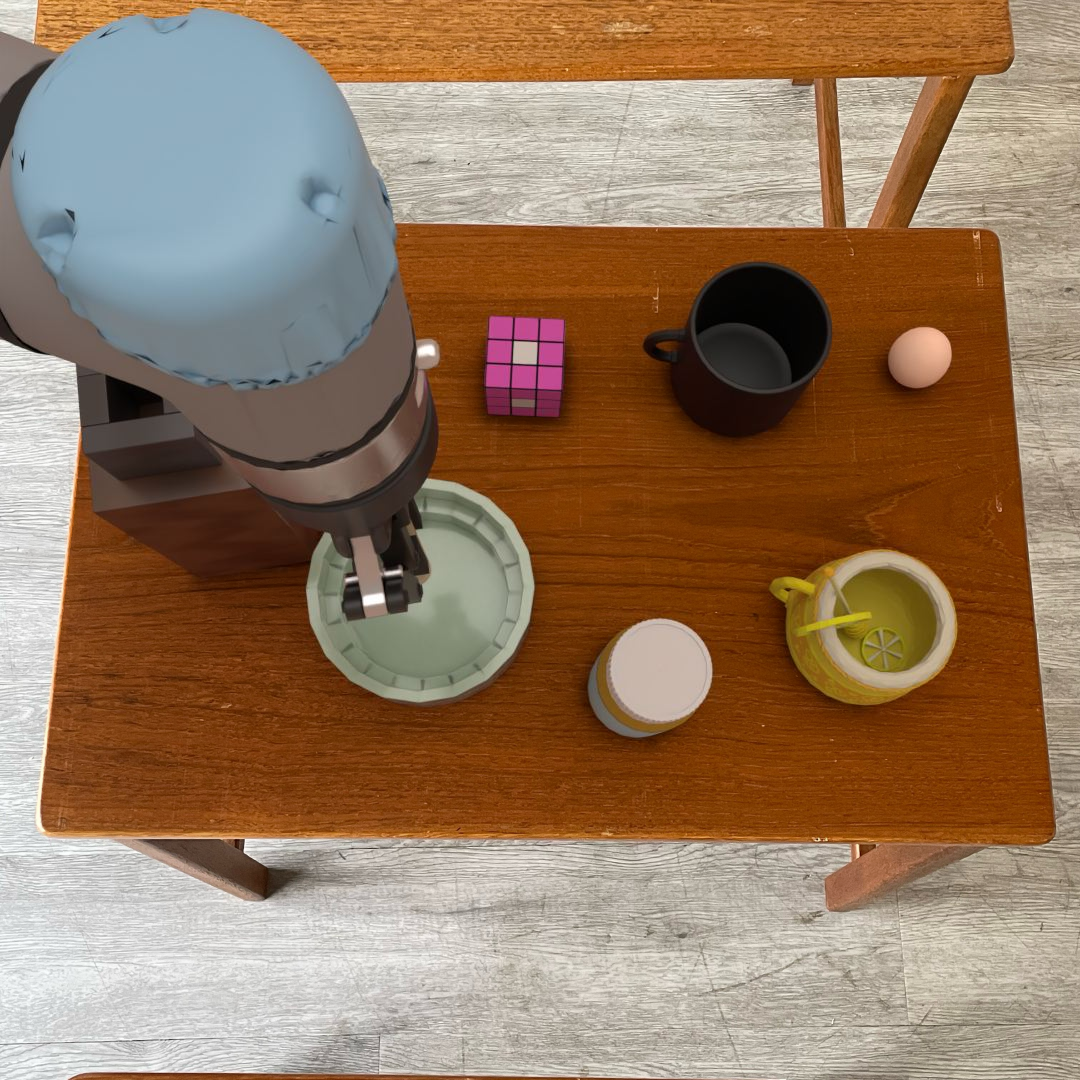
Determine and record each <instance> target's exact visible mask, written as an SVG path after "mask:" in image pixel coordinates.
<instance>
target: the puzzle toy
mask: <svg viewBox="0 0 1080 1080" xmlns="http://www.w3.org/2000/svg"><path fill="white" fill-rule="evenodd" d="M486 331H487V332H486V349H485V366H484V367H485V369H484V386H483V388H484V399H485V409H486V414H487V415H503V416H505V415H506V416H511V415H512V416H525V417H535V416H536V417H546V418H560V416H561V410H562V402H563V401H562V399H563V391H564V370H565V369H564V367H565V366H564V365H565V343H566V340H565V339H566V320H565V318H554V317H553V318H550V317H540V318H539V317H532V316H531V317H526V316H508V315H507V316H506V315H505V316H504V315H488V317H487V330H486Z"/></svg>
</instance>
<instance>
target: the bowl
mask: <svg viewBox="0 0 1080 1080" xmlns="http://www.w3.org/2000/svg"><path fill="white" fill-rule="evenodd" d="M414 500H415V502H416V505H417V507H418V510H419V512H420V515H421V519H422V525H423V529H418V530H416V532H417V535H418V537H419V539H420V541H421V544H422V546H423V548H424V550H425V553H426V555H427V557H428V559H429V562H430V564H431V568H432V571H431V575H430V577H429V579H428V580H427V581H426V582H425V583H423V584H421V585H422V587H423V595H422V596H423V598H422V602H420V603H414V604H408V612H403V613H397V614H391V615H390V614H389V615H385V616H379V617H373V618H366V619H361V620H355V621H349V622H348V621H347V618H346V615H345V613H343V611H342V606H341V602H342V601H343V592H344V589H345V585H344V579H343V575H344V574H345V573H351V572H353V568H352V559H348V558H345V557H343V556H341V555H340V554H339V553H338V552H337V551H336V549H335V547H334V544H333V541H332V538H331V535H330V533H326V532H323V534H322V535H321V538H320V540H318V545H317V547H316V548H315V550H314V552H313V555H312V559H311V561H310V565H309V569H308V575H307V580H306V584H305V594H306V603H307V610H308V619H309V624H310V627H311V629H312V631H313V633H314V635H315V638H316V639H317V642H318V644H319V645H320V648H321V649H322V652H323V654H324V656H325V657H326V659H328V660H329V661H330V662H331V663H332V664H333V665H334V666H335V667H336V668H337V669H338V670H339V671H340V672H341V673H342V675H344V676H345V678H346V679H348V680H349V681H350V682H352V684H355V685H357V686H359V687H361V688H363V690H367V691H368V692H370V693H372V694H374V695H376V696H378V697H380V698H382V699H384V700H385V701H388V702H390V703H393V704H399V705H405V706H406V705H407V706H414V707H419V708H431V707H438V706H442V705H449V704H455V703H459V702H462V701H464V700H466V699H467V698H469V697H471V696H473V695H475V694H478V693H479V692H481V691H484V690H485V689H487V688H489V687H490V686H492V685H493V684H494V683H495V682H496V680H497V679H499V677H501V675H502V674H503V673H504V672H505V671H506V670H507V669H508V668H509V667H510V666H512V664H513V663H514V661H515V660H516V658H517V657H518V655H519V652H520V650H521V648H522V646H523V644H524V642H525V641H526V639H527V636H528V634H529V632H530V630H531V629H530V628H531V621H532V615H533V610H534V609H533V608H534V602H535V591H536V590H535V589H536V587H535V586H536V584H535V578H534V572H533V567H532V566H533V565H532V560H531V555H530V552H529V549H528V547H527V546H526V543H525V541H524V540H523V538H522V536H521V534H520V532H519V530H518V529H517V526H516V525H515V523H514V521H513V520H512V519H511V518H510V517H509V516H508V515H507V514H506V513H505V512H503V510H502V509H500V507H499V506H497V504H495V503H494V502H493V501H492V500H491V499H490V498H489V497H487V496H486V495H484V494H482V493H479V492H477V491H476V490H473V489H471V488H469V487H467V486H465V485H463V484H461V483H458V482H456V481H450V480H443V479H437V478H430V477H427V479H426V481H425V482H424V484H423V485H422V487H421V488H420V490H419V491H418V492H417V494H416V495H415V496H414Z"/></svg>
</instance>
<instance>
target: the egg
mask: <svg viewBox="0 0 1080 1080" xmlns="http://www.w3.org/2000/svg"><path fill="white" fill-rule="evenodd" d="M952 355H953V354H952V347H951V342H950V340H949V339H948V337H947V336H946V335H945V334H944V333H943V332H941V331H940V330H938V329H936V328H935V327H929V326H918V327H915V328H911V329H909V330H907V331H905V332H903V333H901V335H900V336H899V337H898V338H897V339H896V340H894V342H893V343H892V345H891V347H890V349H889V351H888V356H887V364H888V369H889V372H890V374H891V376H892V378H893V379H894V380H896V382H897V383H899V384H900V385H901V386H904V387H907V388H912V389H920V388H921V389H922V388H927V387H929V386H931V385H934V384H935V383H937V382H938V381H939V380H941V379H942V378H943V376H944V375H945V374H946V373H947V371H948V369H949V367H950V366H951V362H952V357H953V356H952Z"/></svg>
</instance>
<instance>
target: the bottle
mask: <svg viewBox="0 0 1080 1080" xmlns="http://www.w3.org/2000/svg"><path fill="white" fill-rule="evenodd" d="M713 670H714V669H713V663H712V657H711V655H710V652H709V650H708V647H707V646H706V644H705V642H704V641H703V640H702V638H701V636H699V635H698V634H697V632H695V631H694V629H692V628H690V627H689V626H687V625H685V624H684V623H682V622H679V621H677V620H673V619H667V618H660V617H658V618H652V619H647V620H642V621H641V622H637V623H635V624H632V625H630V626H628V627H626V628H624V629H622V630H621V631H619V632H617V633H616V634H615V635H614V636H613V637H612V638H611V639H610V640H609V641H608V642H607V643H606V645H605V646H604V648H603V649H602V651H601V652H600V654H599V655H598V657H597V658H596V659H595V662H594V664H593V665H592V668H591V669H590V673H589V676H588V682H587V693H588V700H589V704H590V706H591V708H592V710H593V713H594V715H595V716H596V718H597V719H598V720H599V721H600V722H601V724H603V725H604V726H605V727H606V728H607V729H609V730H610V731H612V732H614V733H616V734H618V735H619V736H624V737H628V738H637V739H638V738H645V737H646V738H647V737H652V736H655V735H658V734H661V733H664V732H668V731H671V730H673V729H675V728H677V727H679V726H680V725H682V724H684V723H685V722H687V721H688V720H689V719H690V718H691V717H692V716H693V714H695V713H696V711H697V710H698V708H699V707H700V705H701V704H703V703H704V700H705V699H706V697H707V694H709V690H710V689H711V684H712V681H713V680H712V678H713Z"/></svg>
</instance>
